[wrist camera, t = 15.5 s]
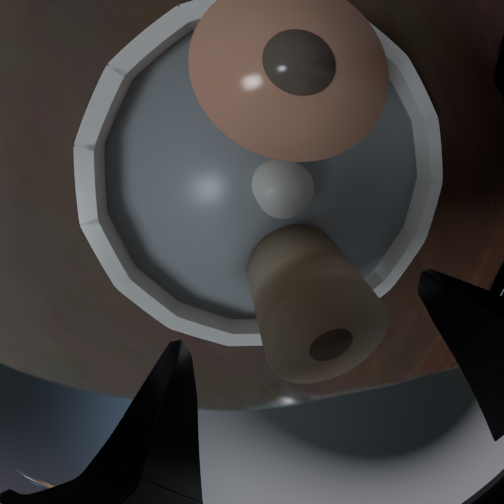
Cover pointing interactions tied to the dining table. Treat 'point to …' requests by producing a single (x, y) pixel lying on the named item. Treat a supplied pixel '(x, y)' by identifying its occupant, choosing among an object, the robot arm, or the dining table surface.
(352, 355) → the maple bead
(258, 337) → the ring tray
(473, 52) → the dining table surface
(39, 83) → the dining table surface
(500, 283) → the supplement container
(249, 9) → the terracotta bead
